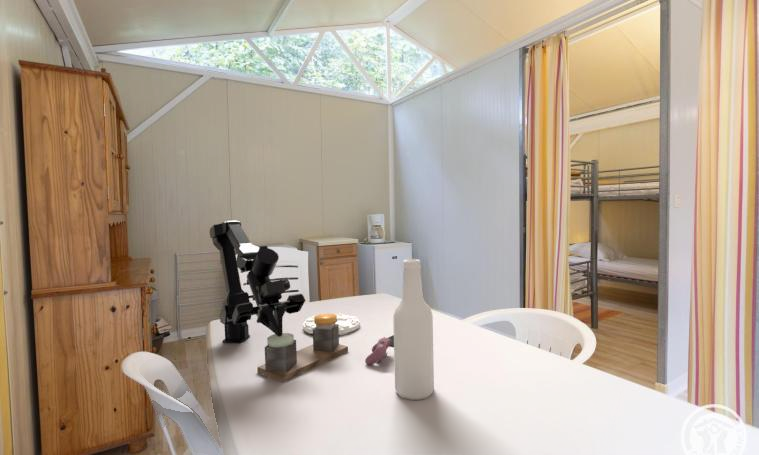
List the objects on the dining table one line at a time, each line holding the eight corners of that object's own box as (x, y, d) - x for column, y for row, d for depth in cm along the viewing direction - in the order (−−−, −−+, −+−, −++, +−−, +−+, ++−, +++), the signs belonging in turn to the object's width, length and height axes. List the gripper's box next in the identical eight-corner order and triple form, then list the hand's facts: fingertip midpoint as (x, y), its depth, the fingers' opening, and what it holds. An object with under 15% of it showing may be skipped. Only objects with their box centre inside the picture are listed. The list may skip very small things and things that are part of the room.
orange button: (311, 345, 109) (311, 319, 109) (318, 337, 116) (318, 313, 115) (334, 346, 108) (333, 320, 108) (340, 338, 115) (339, 313, 114)
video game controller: (378, 372, 101) (389, 349, 100) (363, 363, 102) (374, 341, 101) (385, 357, 111) (395, 337, 110) (371, 350, 111) (381, 329, 110)
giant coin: (370, 325, 139) (370, 317, 138) (336, 341, 122) (336, 332, 122) (328, 317, 149) (327, 310, 149) (291, 331, 133) (291, 323, 133)
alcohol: (439, 398, 83) (436, 261, 81) (399, 403, 81) (396, 263, 80) (427, 381, 91) (425, 256, 90) (391, 384, 90) (388, 258, 89)
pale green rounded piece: (263, 370, 96) (262, 341, 96) (274, 360, 102) (273, 332, 102) (288, 371, 95) (287, 341, 95) (298, 361, 101) (297, 333, 101)
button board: (256, 373, 99) (255, 344, 98) (324, 344, 118) (323, 320, 118) (281, 382, 93) (280, 352, 92) (348, 351, 112) (347, 326, 112)
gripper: (233, 273, 96) (252, 326, 88) (301, 265, 108) (322, 310, 100) (225, 299, 102) (241, 350, 94) (289, 288, 114) (308, 333, 106)
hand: (280, 335), depth 98 cm, fingers closed
